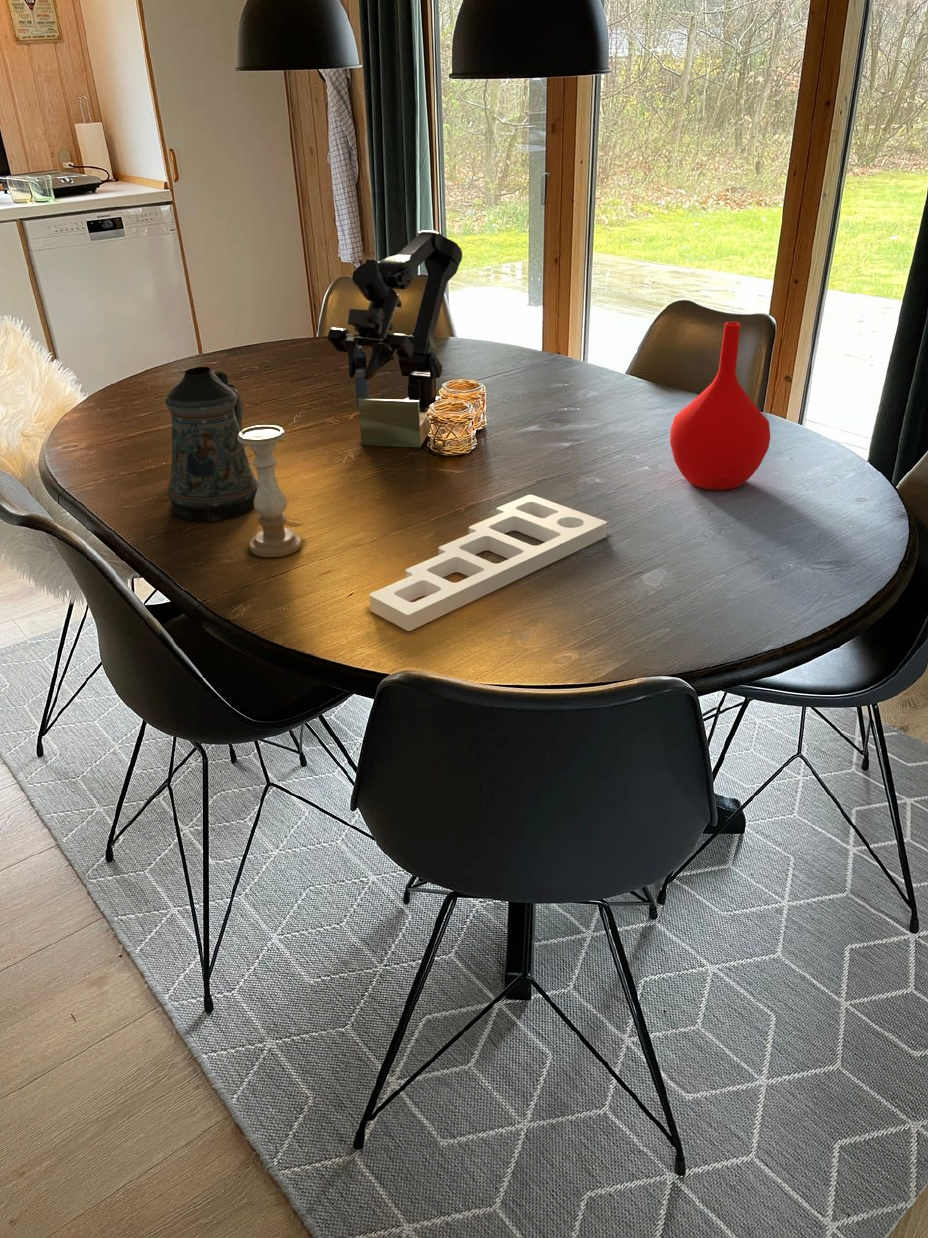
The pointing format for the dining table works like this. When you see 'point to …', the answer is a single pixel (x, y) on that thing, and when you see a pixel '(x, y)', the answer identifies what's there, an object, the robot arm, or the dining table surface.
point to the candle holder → (268, 495)
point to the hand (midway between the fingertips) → (358, 377)
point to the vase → (720, 428)
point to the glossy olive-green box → (392, 423)
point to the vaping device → (361, 376)
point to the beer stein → (208, 449)
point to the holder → (525, 515)
